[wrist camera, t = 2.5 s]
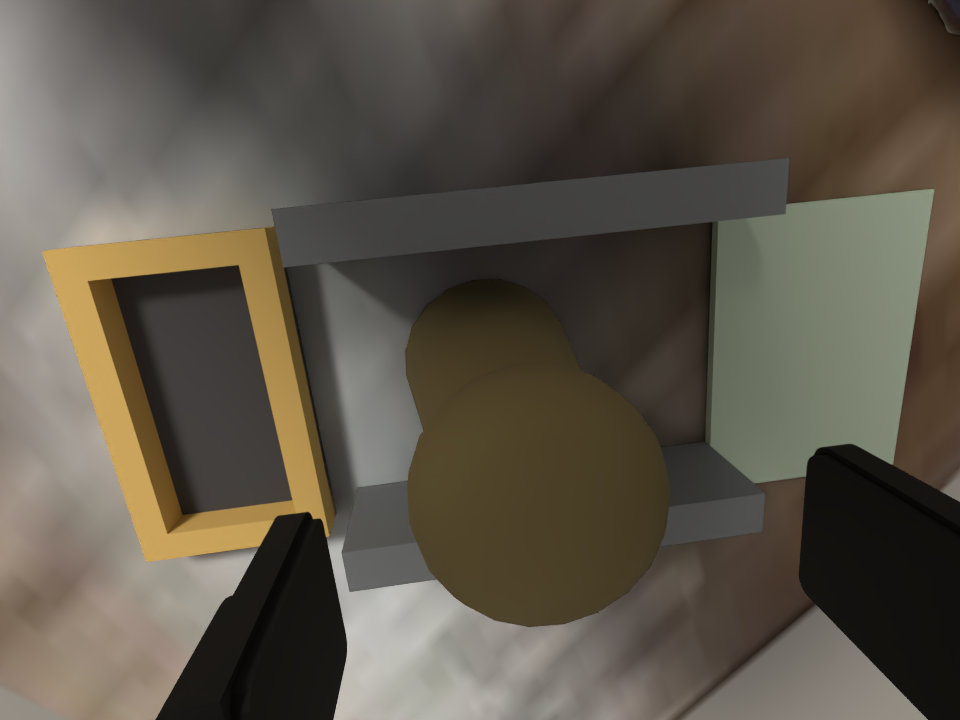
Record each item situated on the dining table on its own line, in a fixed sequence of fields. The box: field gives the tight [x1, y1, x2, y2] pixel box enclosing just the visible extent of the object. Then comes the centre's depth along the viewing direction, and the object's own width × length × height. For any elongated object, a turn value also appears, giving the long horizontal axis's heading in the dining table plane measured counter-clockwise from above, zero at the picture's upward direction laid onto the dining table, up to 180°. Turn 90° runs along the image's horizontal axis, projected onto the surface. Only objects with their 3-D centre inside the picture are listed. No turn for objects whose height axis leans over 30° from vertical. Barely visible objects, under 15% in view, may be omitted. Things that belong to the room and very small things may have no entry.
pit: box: [42, 227, 336, 562], centre depth 18 cm, size 11×6×2 cm, turn 5°
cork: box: [405, 280, 671, 627], centre depth 14 cm, size 6×6×11 cm
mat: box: [705, 189, 934, 484], centre depth 20 cm, size 11×8×1 cm
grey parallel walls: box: [271, 158, 790, 592], centre depth 18 cm, size 12×14×4 cm
